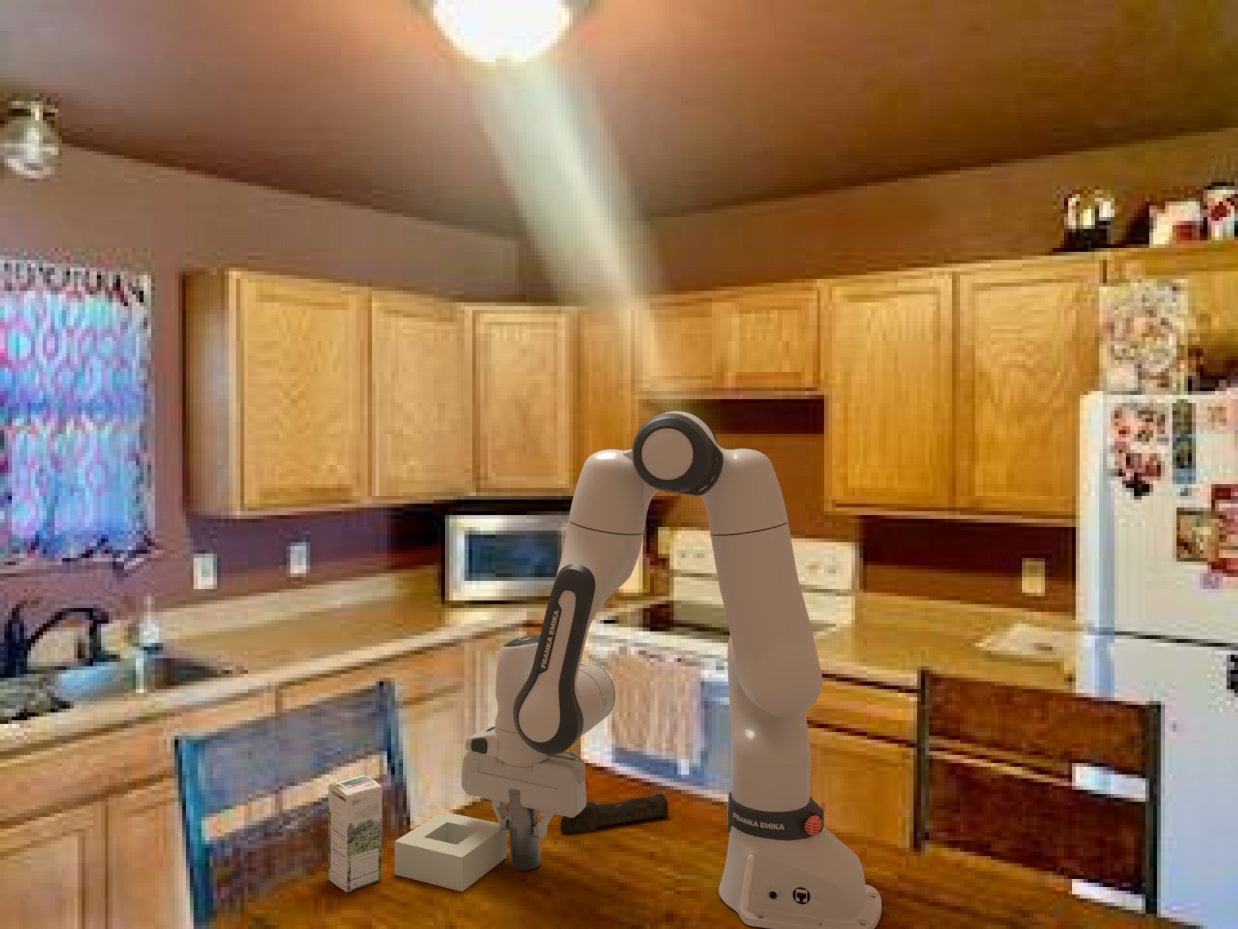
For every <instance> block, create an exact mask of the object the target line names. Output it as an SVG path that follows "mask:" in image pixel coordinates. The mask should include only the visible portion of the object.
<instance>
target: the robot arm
mask: <svg viewBox="0 0 1238 929" xmlns="http://www.w3.org/2000/svg"><path fill="white" fill-rule="evenodd" d="M633 438H634V439H633V442H632V447H631V449H627V450H625V449H623V450H622V449H615V448H614V449H612V448H611V449H609V448H607V449H603V450H598V451H597V452H594V453H592V454H591V455H590V456H588V458H586V460H585V462H584V464H583V466H582V468H581V472H580V474H579V478H578V480H577V484H576V487H575V490H574V493H573V498H572V502H571V506H570V510H569V515H568V516H569V517H568V521H567V528H566V533H565V540H564V544H563V549H562V553H561V557H560V558H561V559H560V562H559V566H558V570H557V573H556V576H555V580H554V583H553V586H552V588H551V592H550V595H549V599H548V602H547V606H546V609H545V613H544V618H543V621H542V622H543V623H542V625H541V631H540V634H538V635H535V634H534V635H528V636H527V635H525V636H523V637H518V638H517V637H516V638H515V639H512V640H510V641H509V642H508V641H507V642H506V643H505V644H504V645H503V646H502V647H501V649H500V651H499V654H498V658H497V665H496V674H495V675H496V677H495V699H496V702H497V704H496V705H497V713H496V717H495V720H494V725H492V726H488V727H485V728H483V729H481V730H479V731H477V732H475V733H473V734H472V735H469V737H467V738H466V740H465V749H466V751H467V752H466V753H465V755H464V757H463V760H462V766H461V767H462V768H461V788H462V790H463V792H464V793H465V794H466V795H467V796H472V797H476V798H481V799H487V800H490V801H491V808H492V810H493V811H494V814H495V815H496V818H497V820H498V821H497V823H498V828H499V829H502V830H507V831H509V819H508V810H507V809H506V806H505V805H506V804H507V805H508V804H509V789H511V790H520V803H521V805H522V806H523V807H526V808H530V809H535V810H537V811H539V818H542V819H541V820H540V821H538V823H537V824H536V825H534V826H533V832H534V833H533V837H536V838H539V840H540V839H541V840H543V839H544V838H546V837H547V835H548V824H549V823H550V821H551V820H552V818H553V816H554V815H558V816H561V817H563V816H566V817H571V818H572V817H575V816H576V815H578V814H579V813H580V812H581V811H582V810H583V809H584V808H585V806H586V802H587V788H586V779H585V778H586V762H585V761H584V760H583V759H582V757H581V756H579V755H578V753H577V752H574V751H570V750H568V749H570V747H571V746H573V745H574V744H575V743H576V742H577V741H578V740H579V739H580V738H581V737H582V736H584V735H585V734H587V733H588V732H590V731H591V730H592V729H593V728H595V726H597V725H598V724H600V723H601V722H602V721H603V720H605V718H607V717H608V716H609V715H610V713H611V712H612V711H613V708H614V705H615V702H616V692H615V686H614V683H613V680H612V679H611V677H610V675H609V674H608V673H607V671H606V670H605V669H604V668H603V667H601V666H600V665H598V664H597V663H594V662H587V661H584V660H582V659H583V654H584V649H585V646H586V642H587V637H588V633H589V630H590V627H591V625H592V622H593V620H594V618H595V616H596V614H598V612H599V610H600V609H601V608H602V607H603V605H604V604H605V603H606V602H607V600H609V598H610V597H611V596H612V595H614V593H615V592H616V591H617V590H618V589H619V588H621V587H622V586H623V585H624V584H625V583H626V582H628V580H629V579H630V578H631V576H632V574H633V571H634V569H635V567H636V564H637V562H638V559H639V556H640V552H641V549H642V548H641V547H642V544H643V538H644V533H645V525H646V520H647V515H648V510H649V506H650V503H651V501H652V499H653V497H654V496H655V495H656V494H657V493H658V492H660V491H662V492H666V493H671V494H681V495H686V496H694V497H700V498H701V501H702V503H703V505H704V507H705V511H706V517H707V521H708V527H709V533H710V534H709V535H710V540H711V546H712V552H713V557H714V564H715V569H716V570H715V571H716V575H717V581H718V588H719V592H720V595H721V599H722V602H723V607H724V612H725V616H726V620H727V625H728V629H729V637H728V642H727V648H726V649H727V652H726V654H727V655H726V656H727V681H728V682H727V683H728V702H729V703H728V704H729V718H730V719H729V720H730V731H731V732H730V734H731V777H730V778H731V779H730V781H731V783H730V784H731V785H730V786H731V787H730V788H731V789H730V790H731V791H730V792H729V793H728V798H727V806H726V807H727V809H726V821H727V822H726V823H727V831H728V833H729V835H728V845H727V846H728V847H727V854H726V860H725V864H724V869H723V872H722V873H723V874H722V877H721V880H720V883H719V886H718V895H719V896H720V898H721V900H722V901H723V902H724V903H725V904H726V905H727V906H728V907H730V908H731V909H732V910H734V911H735V912H736V913H737V914H738V916H739V918H740V919H741V921H742V922H743V923H744V924H746V926H750V927H755V928H757V927H758V928H764V929H875V928H876V927H877V926H878V923H879V921H880V919H881V916H882V913H883V912H882V911H883V908H882V907H883V906H882V898H881V895H880V893H879V891H878V890H877V889H876V888H875V887H873V886H871V885H869V884H866V880H865V875H864V869H863V866H862V863H861V861H860V857H858V855H857V854H856V853H855V852H854V851H853V850H852V849H851V848H849V847H848V846H847V845H846V844H844V843H843V842H842V841H841V840H840V839H839V838H837V837H836V836H835V835H834V834H833V833H832V832H831V831H829V830H828V829H827V828H826V827H825V811H826V809H825V808H826V803H825V801H822V803H821V805H819V804H818V803H817V802H816V801H815V799H813V798H812V796H811V740H810V739H811V738H810V734H809V728H808V721H807V720H808V719H807V713H806V712H807V711H809V710H810V709H811V708H812V707H813V706H814V705H815V704H816V702H817V701H818V699H819V698H820V695H821V692H822V688H823V675H822V674H823V673H822V669H821V664H820V660H819V655H818V651H817V647H816V643H815V637H814V634H813V633H814V632H813V630H812V625H811V623H810V618H809V614H808V610H807V606H806V602H805V599H804V595H803V592H802V588H801V584H800V580H799V577H798V572H797V564H796V560H795V553H794V548H793V542H792V536H791V531H790V525H789V518H788V513H787V508H786V504H785V500H784V497H783V492H782V488H781V486H780V482H779V480H778V477H777V473H776V472H775V469H774V466H773V464H772V462H771V460H770V459H769V457H768V456H767V455H766V454H764V453H762V452H761V451H758V450H756V449H749V448H735V449H726V448H723V447H721V446H720V445H719V444H718V441H717V437H716V434H715V433H714V431H713V429H712V427H711V426H710V425H709V424H708V422H706V421H705V420H703V419H702V418H700V417H699V416H697V415H694V414H691V413H689V412H687V411H681V410H680V411H679V410H677V411H676V410H675V411H668V412H664V413H661V414H658V415H656V416H653V417H652V418H650V419H649V420H647V421H646V422H644V424H642V425H641V426H640V428H639V429H638V431H637V432H636V433H635V436H634V437H633ZM567 750H568V751H567Z"/></svg>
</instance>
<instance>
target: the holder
mask: <svg viewBox="0 0 1238 929" xmlns="http://www.w3.org/2000/svg"><path fill="white" fill-rule="evenodd" d="M507 854H508V830H502V829H499V828H498V822H494V821H489V820H484V819H481V818H480V819H479V818H475V817H471V816H465V815H462V814H458V813H457V814H456V813H453V812H452V813H451V812H448V811H441V812H439V813H438V814H436V815H435V816H433V817H431V818H430V819H428V820H427V821H425V822H423V823H421V824H420V825H418V826H417V827H415V828H414V829H412V830H411V831H409V832H407V833H406V834H404V835H402V836H401V837H399V838H398V839H396V840H394V875H396V876H400V877H403V878H407V879H410V880H416V881H418V882H423V883H427V884H430V885H435V886H439V887H442V888H446V889H450V890H454V891H458V892H462V893H463V892H464V891H466V890H467V889H468V888H469V887H470V886H472V885H473V884H474V883H476V882H477V881H478V880H479V879H481V878H482V877H483V876H485V874H487V873H488V872H489V871H491V870H492V869H493V868H495V867H497V865H498V864H500V863H501V862H502V861H504V860H505V859H507V857H508V855H507Z"/></svg>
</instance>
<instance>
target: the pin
mask: <svg viewBox="0 0 1238 929" xmlns="http://www.w3.org/2000/svg"><path fill="white" fill-rule="evenodd" d="M507 813H508V819H509V829H508V831H509V832H508V834H509V851H510V852H509V853H510V864H511V865H510V867H511V868H512V869H513V870H516V871H530V870H533V869H535V868H538V867H539V866H540V865H541V852H540V851H541V850H540V849H541V848H540V838H536V837H533V833H534V832H533V826H534V825H536V824H537V823H538V822H539V820H538V810H535V809H530V808H526V807H523V806H522V805H521V803H520V790H511V789H509V804H508V803H507Z"/></svg>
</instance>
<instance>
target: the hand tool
mask: <svg viewBox="0 0 1238 929" xmlns="http://www.w3.org/2000/svg"><path fill="white" fill-rule="evenodd" d="M668 816H669V803H668V798H667V797H666V796H665V795H664V794H663V793H655V795H652V796H647V797H644V796H643V797H640V798H639V797H638V798H630V799H628V800H624V801H617V802H612V803H610V802H609V803H601V804H596V803H595V802H594V801H586V806H585V808H584V809H583V810H582V811H581V812H580V813H579V814H578V815H576V816H575V817H572V818H571V817H566V816H561V820H560V832H561V833H562V834H563V833H565V834H580V833H586V832H588V833H589V832H594V831H596V829H597V828H600V827H606V826H612V825H618V824H623V823H630V822H635V821H636V822H637V821H641V820H650V819H651V820H652V819H656V818H662V819H664V820H666V819H667V818H668Z"/></svg>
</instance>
